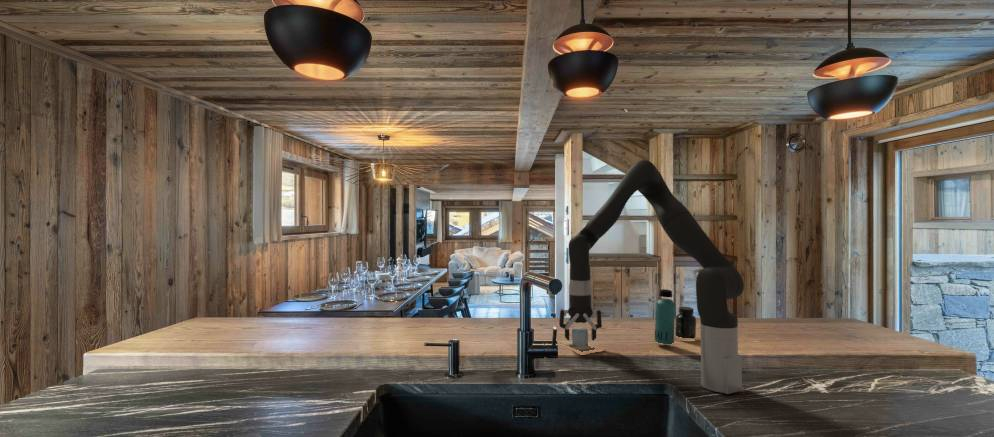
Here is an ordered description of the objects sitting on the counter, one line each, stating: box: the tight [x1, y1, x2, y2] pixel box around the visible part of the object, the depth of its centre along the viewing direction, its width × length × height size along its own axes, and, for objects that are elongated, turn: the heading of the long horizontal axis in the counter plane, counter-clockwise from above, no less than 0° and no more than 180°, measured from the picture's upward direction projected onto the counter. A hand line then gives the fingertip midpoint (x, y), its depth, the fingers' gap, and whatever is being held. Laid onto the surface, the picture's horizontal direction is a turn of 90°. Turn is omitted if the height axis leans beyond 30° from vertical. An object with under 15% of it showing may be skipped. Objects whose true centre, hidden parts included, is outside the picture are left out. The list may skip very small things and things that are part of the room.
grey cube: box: [571, 326, 589, 346], centre depth 153 cm, size 5×5×5 cm
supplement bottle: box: [674, 306, 697, 339], centre depth 162 cm, size 7×7×12 cm
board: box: [559, 340, 595, 352], centre depth 152 cm, size 12×10×5 cm
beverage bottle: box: [654, 288, 676, 345], centre depth 154 cm, size 6×7×20 cm
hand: (580, 339), depth 153 cm, fingers open, 8 cm apart
